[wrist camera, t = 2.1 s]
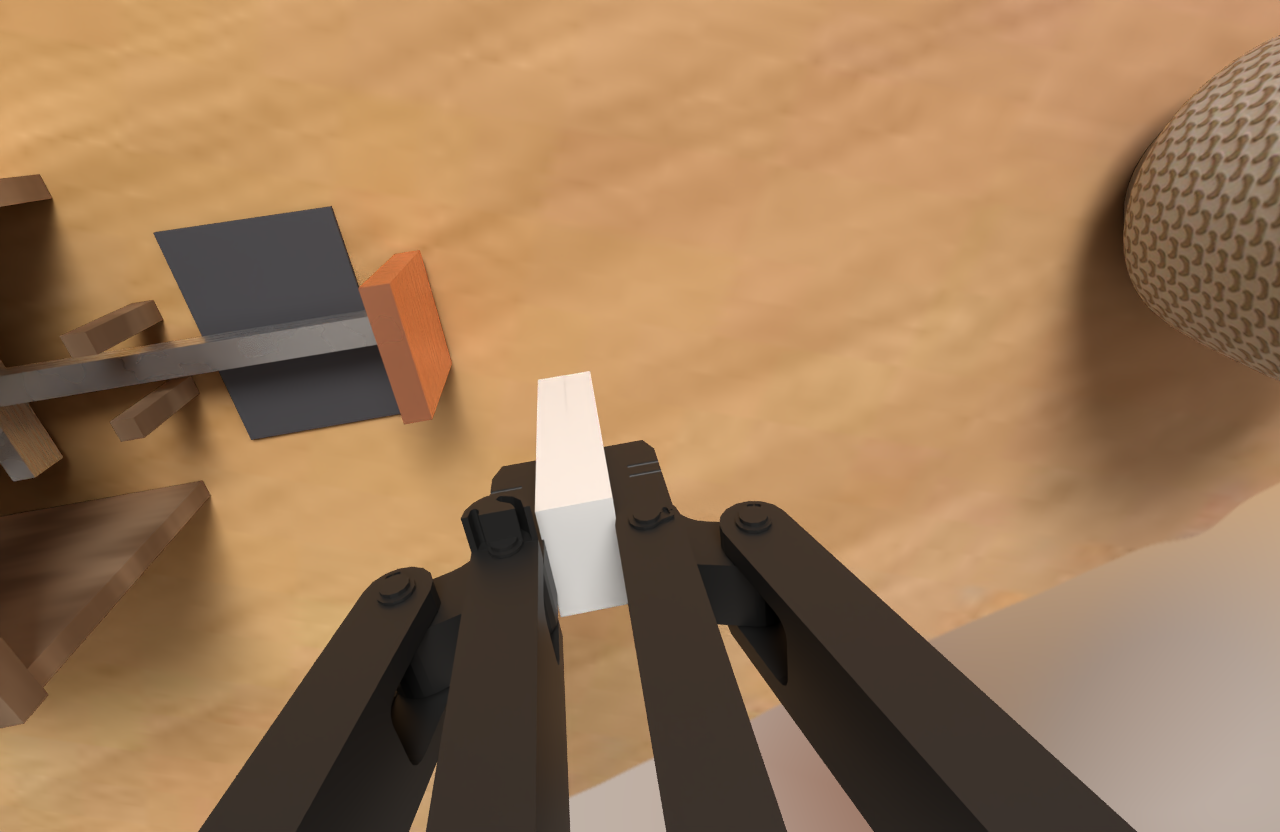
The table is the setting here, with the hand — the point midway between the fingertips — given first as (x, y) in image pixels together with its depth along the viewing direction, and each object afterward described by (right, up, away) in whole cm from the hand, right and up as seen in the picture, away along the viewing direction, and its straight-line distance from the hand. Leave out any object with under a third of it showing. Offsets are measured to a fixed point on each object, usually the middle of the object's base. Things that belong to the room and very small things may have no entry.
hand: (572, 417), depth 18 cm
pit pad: (-16, +4, +13) cm, 21 cm away
